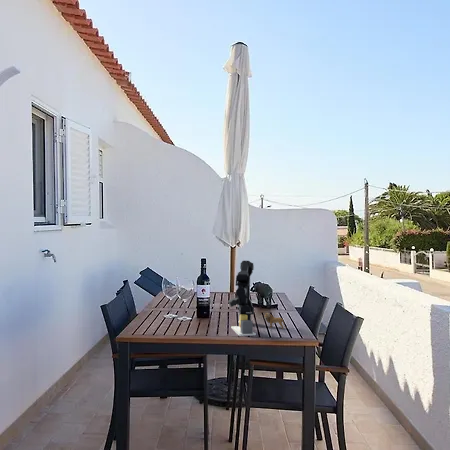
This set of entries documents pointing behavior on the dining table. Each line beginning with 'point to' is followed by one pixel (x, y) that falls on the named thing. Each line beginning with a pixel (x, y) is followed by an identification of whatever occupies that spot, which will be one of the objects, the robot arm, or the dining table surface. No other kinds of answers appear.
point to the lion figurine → (273, 320)
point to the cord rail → (238, 330)
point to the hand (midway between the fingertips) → (241, 319)
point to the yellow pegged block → (242, 318)
